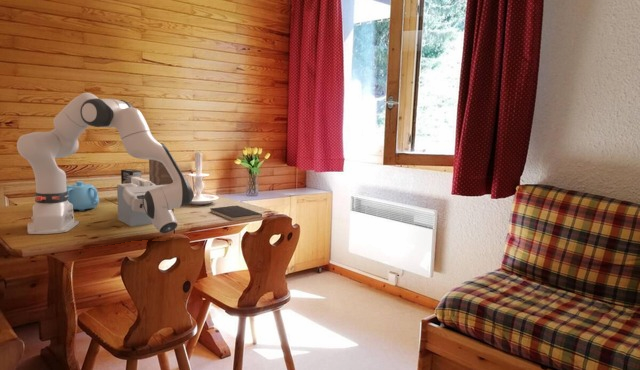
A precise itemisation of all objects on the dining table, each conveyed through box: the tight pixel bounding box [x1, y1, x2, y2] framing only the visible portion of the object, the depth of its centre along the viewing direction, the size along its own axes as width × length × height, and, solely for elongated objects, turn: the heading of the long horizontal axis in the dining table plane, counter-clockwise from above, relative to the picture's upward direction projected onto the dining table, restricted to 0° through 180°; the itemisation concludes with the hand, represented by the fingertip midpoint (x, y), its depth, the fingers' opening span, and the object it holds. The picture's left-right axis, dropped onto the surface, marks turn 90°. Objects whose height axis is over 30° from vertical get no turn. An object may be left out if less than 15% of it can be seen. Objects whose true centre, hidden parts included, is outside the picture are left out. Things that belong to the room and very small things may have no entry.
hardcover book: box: [209, 205, 263, 222], centre depth 230 cm, size 16×23×2 cm
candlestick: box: [187, 151, 220, 205], centre depth 253 cm, size 21×25×28 cm
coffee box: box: [120, 168, 142, 184], centre depth 257 cm, size 9×6×16 cm
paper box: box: [116, 183, 153, 227], centre depth 207 cm, size 16×10×16 cm, turn 41°
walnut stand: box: [148, 160, 175, 213], centre depth 230 cm, size 14×6×26 cm, turn 41°
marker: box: [127, 175, 150, 186], centre depth 203 cm, size 20×3×3 cm, turn 41°
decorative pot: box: [66, 180, 100, 212], centre depth 229 cm, size 16×16×14 cm
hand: (143, 182), depth 198 cm, fingers closed on marker, 3 cm apart
